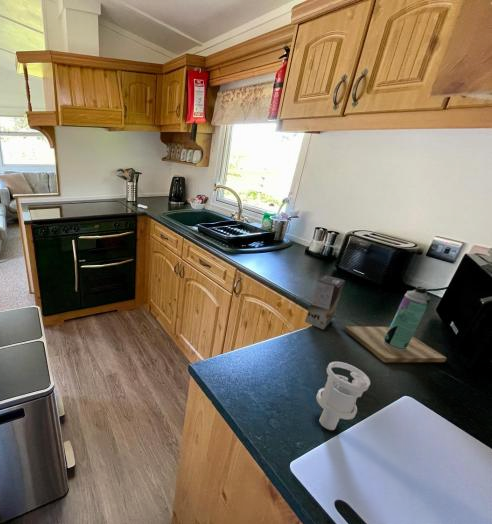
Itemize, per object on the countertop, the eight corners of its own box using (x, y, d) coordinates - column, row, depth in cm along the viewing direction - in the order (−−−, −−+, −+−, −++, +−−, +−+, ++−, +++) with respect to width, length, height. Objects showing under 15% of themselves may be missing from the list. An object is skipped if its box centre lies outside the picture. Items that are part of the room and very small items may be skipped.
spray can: (405, 345, 90) (434, 288, 82) (405, 353, 86) (436, 294, 78) (383, 337, 93) (409, 281, 85) (383, 345, 89) (410, 287, 81)
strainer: (323, 439, 59) (347, 383, 53) (302, 410, 65) (322, 357, 60) (354, 438, 60) (382, 382, 54) (330, 409, 66) (352, 356, 61)
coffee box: (324, 330, 97) (339, 287, 91) (303, 322, 101) (317, 280, 95) (331, 321, 103) (346, 280, 97) (312, 313, 107) (325, 274, 101)
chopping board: (396, 330, 100) (397, 326, 100) (444, 362, 86) (447, 358, 85) (343, 329, 98) (345, 326, 98) (384, 362, 83) (386, 358, 83)
